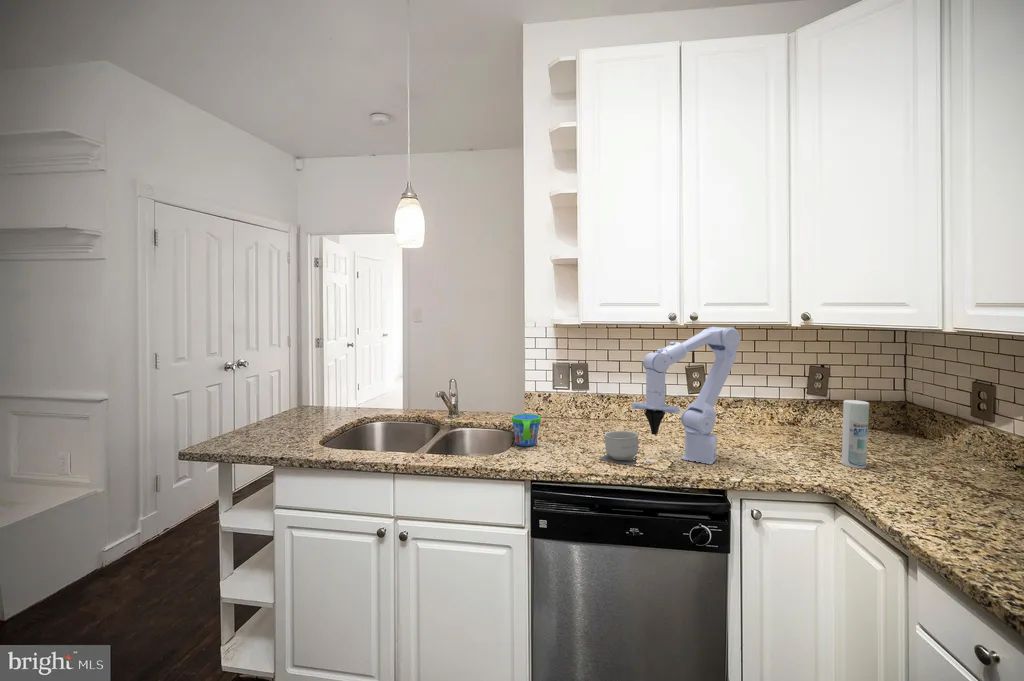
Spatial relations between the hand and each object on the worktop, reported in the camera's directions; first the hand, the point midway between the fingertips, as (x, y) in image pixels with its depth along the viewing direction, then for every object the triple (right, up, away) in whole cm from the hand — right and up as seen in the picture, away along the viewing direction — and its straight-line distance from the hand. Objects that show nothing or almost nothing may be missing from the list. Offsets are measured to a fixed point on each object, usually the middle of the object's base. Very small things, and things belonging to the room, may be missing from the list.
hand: (654, 433), depth 149 cm
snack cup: (-40, -8, +22) cm, 46 cm away
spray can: (+61, -10, -2) cm, 62 cm away
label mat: (-5, -9, +4) cm, 11 cm away
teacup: (-8, -9, +6) cm, 14 cm away
